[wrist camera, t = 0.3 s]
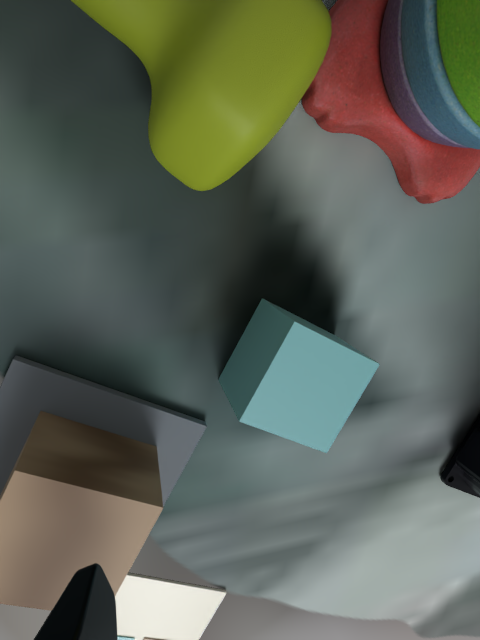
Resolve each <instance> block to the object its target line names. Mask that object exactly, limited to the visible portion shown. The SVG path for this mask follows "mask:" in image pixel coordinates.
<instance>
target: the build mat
mask: <svg viewBox="0 0 480 640" xmlns="http://www.w3.org/2000/svg"><path fill="white" fill-rule="evenodd" d="M40 411H43V412H47V413H50V414H53V415H56V416H59V417H63V418H66V419H69V420H72V421H76V422H79V423H82V424H85V425H89V426H92V427H95V428H98V429H101V430H105V431H108V432H111V433H114V434H118V435H121V436H124V437H127V438H131V439H134V440H137V441H140V442H143V443H147V444H150V445H153V446H156V447H157V453H158V463H159V472H160V481H161V490H162V500H163V506H164V504H165V503H166V501H167V499H168V497H169V495H170V493H171V492H172V490H173V488H174V486H175V484H176V482H177V481H178V479H179V477H180V475H181V473H182V471H183V470H184V468H185V466H186V464H187V462H188V460H189V459H190V457H191V455H192V453H193V451H194V449H195V448H196V446H197V444H198V442H199V440H200V438H201V437H202V435H203V433H204V431H205V429H206V427H207V425H206V422H205V421H202V420H199V419H196V418H194V417H191V416H188V415H185V414H182V413H179V412H176V411H174V410H171V409H168V408H165V407H162V406H159V405H157V404H154V403H151V402H148V401H145V400H142V399H139V398H137V397H134V396H131V395H128V394H125V393H122V392H119V391H117V390H114V389H111V388H108V387H105V386H102V385H100V384H97V383H94V382H91V381H88V380H85V379H82V378H80V377H77V376H74V375H71V374H68V373H65V372H62V371H60V370H57V369H54V368H51V367H48V366H45V365H43V364H40V363H37V362H34V361H31V360H28V359H25V358H23V357H20V356H17V355H16V356H15V357H14V359H13V360H12V362H11V365H10V367H9V369H8V371H7V373H6V376H5V378H4V380H3V382H2V385H1V387H0V495H1V493H2V491H3V489H4V487H5V485H6V482H7V480H8V478H9V476H10V474H11V472H12V470H13V468H14V466H15V464H16V461H17V459H18V457H19V455H20V453H21V451H22V449H23V447H24V445H25V443H26V440H27V438H28V436H29V434H30V432H31V430H32V428H33V426H34V424H35V422H36V419H37V417H38V415H39V413H40Z"/></svg>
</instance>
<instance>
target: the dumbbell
mask: <svg viewBox="0 0 480 640" xmlns="http://www.w3.org/2000/svg"><path fill="white" fill-rule="evenodd" d="M71 1H72V2H73V3H75V4H76V5H77V6H78V7H79V8H81V9H82V10H83V11H84V12H85V13H86V14H88V15H89V16H90V17H91V18H92V19H94V20H95V21H96V22H97V23H98V24H100V25H101V26H102V27H103V28H105V29H106V30H107V31H109V32H110V33H111V34H112V35H114V36H115V37H116V38H118V39H119V40H120V41H122V42H123V43H124V44H125V45H126V46H128V47H129V48H130V49H131V50H132V51H133V52H134V53H135V54H136V55H137V56H138V57H139V58H140V60H141V62H142V63H143V65H144V66H145V68H146V70H147V72H148V75H149V77H150V82H151V87H152V102H151V108H150V115H149V122H148V133H149V142H150V146H151V150H152V152H153V154H154V155H155V157H156V159H157V160H158V161H159V163H160V164H161V165H162V166H163V167H164V168H165V169H166V170H168V171H169V172H170V173H171V174H172V175H173V176H175V177H176V178H177V179H179V180H180V181H181V182H183V183H184V184H185V185H187V186H188V187H190V188H192V189H194V190H199V191H205V190H210V189H212V188H214V187H216V186H218V185H220V184H222V183H223V182H225V181H226V180H228V179H229V178H230V177H231V176H233V175H234V174H235V173H236V172H238V171H239V170H240V169H241V168H242V167H243V166H244V165H245V164H247V163H248V162H249V161H250V160H251V159H252V158H253V157H254V156H255V155H256V154H258V153H259V152H260V151H261V150H262V149H263V148H264V147H265V146H266V145H267V144H268V142H269V141H270V140H271V139H272V138H273V137H274V136H275V134H276V133H277V132H278V131H279V129H280V128H281V127H282V126H283V124H284V123H285V121H286V120H287V119H288V117H289V116H290V114H291V113H292V111H293V110H294V108H295V107H296V106H297V104H298V103H299V101H300V100H301V98H302V97H303V95H304V94H305V92H306V90H307V89H308V87H309V86H310V84H311V83H312V81H313V79H314V78H315V76H316V74H317V72H318V70H319V68H320V66H321V64H322V62H323V60H324V57H325V55H326V52H327V49H328V47H329V42H330V38H331V18H330V15H329V12H328V10H327V8H326V7H325V5H324V4H323V2H322V1H321V0H71Z"/></svg>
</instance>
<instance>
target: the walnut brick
mask: <svg viewBox="0 0 480 640" xmlns="http://www.w3.org/2000/svg"><path fill="white" fill-rule="evenodd" d="M162 509H163V500H162V490H161V481H160V472H159V463H158V453H157V447H156V446H153V445H150V444H147V443H143V442H140V441H137V440H134V439H131V438H127V437H124V436H121V435H118V434H114V433H111V432H108V431H105V430H101V429H98V428H95V427H92V426H89V425H85V424H82V423H79V422H76V421H72V420H69V419H66V418H63V417H59V416H56V415H53V414H50V413H47V412H43V411H40V413H39V415H38V417H37V419H36V422H35V424H34V426H33V428H32V430H31V432H30V434H29V436H28V438H27V440H26V443H25V445H24V447H23V449H22V451H21V453H20V455H19V457H18V459H17V461H16V464H15V466H14V468H13V470H12V472H11V474H10V476H9V478H8V480H7V482H6V485H5V487H4V489H3V491H2V493H1V495H0V604H6V605H14V606H21V607H29V608H37V609H44V610H51V611H52V609H53V608H54V606H55V604H56V603H57V601H58V600H59V598H60V596H61V595H62V593H63V591H64V590H65V588H66V587H67V585H68V583H69V582H70V580H71V579H72V577H73V575H74V574H75V573H76V572H77V571H78V570H79V569H82V568H84V567H87V566H89V565H92V564H95V563H98V564H99V565H100V566H101V567H102V569H103V571H104V573H105V575H106V577H107V579H108V581H109V583H110V585H111V588H112V590H113V592H114V596H116V594H117V592H118V590H119V588H120V586H121V585H122V583H123V581H124V579H125V577H126V575H127V574H128V572H129V570H130V568H131V566H132V564H133V562H134V561H135V559H136V557H137V555H138V553H139V552H140V550H141V548H142V546H143V544H144V542H145V540H146V539H147V537H148V535H149V533H150V531H151V530H152V528H153V526H154V524H155V522H156V520H157V519H158V517H159V515H160V513H161V511H162Z"/></svg>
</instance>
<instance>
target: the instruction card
mask: <svg viewBox="0 0 480 640" xmlns="http://www.w3.org/2000/svg"><path fill="white" fill-rule="evenodd" d="M226 593H227V592H226V590H223V589H218V588H212V587H207V586H201V585H196V584H190V583H184V582H179V581H173V580H168V579H162V578H156V577H151V576H146V575H140V574H134V573H129V572H128V574H127V575H126V577H125V579H124V581H123V583H122V585H121V586H120V588H119V590H118V592H117V594H116V596H115V601H116V617H117V638H118V640H199V639H200V637H201V635H202V633H203V632H204V630H205V628H206V626H207V625H208V623H209V621H210V620H211V618H212V617H213V615H214V613H215V611H216V610H217V608H218V607H219V605H220V603H221V601H222V600H223V598H224V596H225V595H226Z"/></svg>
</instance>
